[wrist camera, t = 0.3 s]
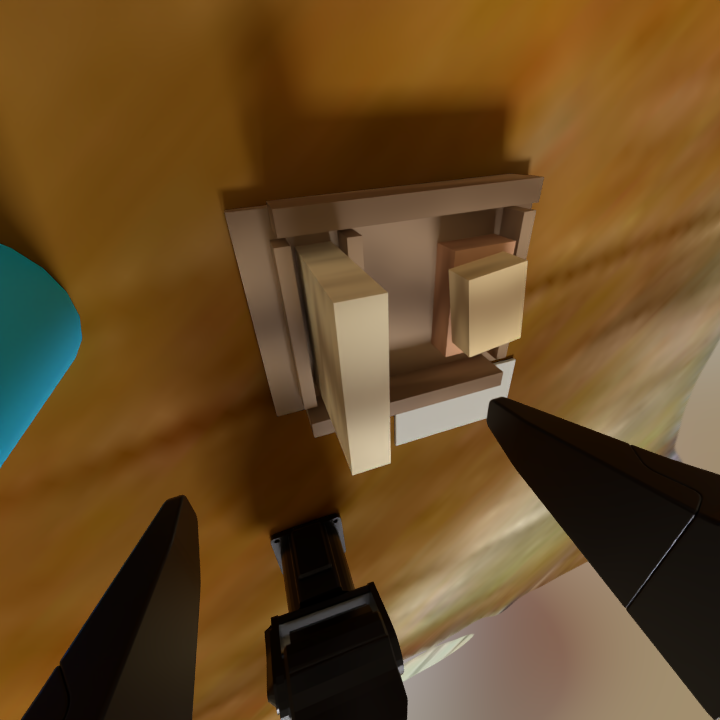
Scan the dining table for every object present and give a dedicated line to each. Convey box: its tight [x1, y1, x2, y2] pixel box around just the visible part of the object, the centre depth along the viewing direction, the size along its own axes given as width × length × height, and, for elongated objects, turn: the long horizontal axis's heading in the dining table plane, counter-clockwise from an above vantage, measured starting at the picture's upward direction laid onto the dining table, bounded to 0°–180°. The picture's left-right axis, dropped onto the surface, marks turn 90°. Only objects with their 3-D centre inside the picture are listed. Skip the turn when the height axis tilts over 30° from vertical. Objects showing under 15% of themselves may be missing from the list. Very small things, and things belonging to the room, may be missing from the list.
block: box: [294, 241, 391, 475], centre depth 18 cm, size 9×2×8 cm, turn 3°
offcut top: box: [449, 251, 528, 357], centre depth 20 cm, size 5×4×2 cm
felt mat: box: [395, 358, 516, 446], centre depth 30 cm, size 6×11×1 cm, turn 94°
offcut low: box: [431, 234, 516, 357], centre depth 22 cm, size 7×4×2 cm, turn 3°
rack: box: [224, 173, 544, 438], centre depth 21 cm, size 14×18×3 cm
